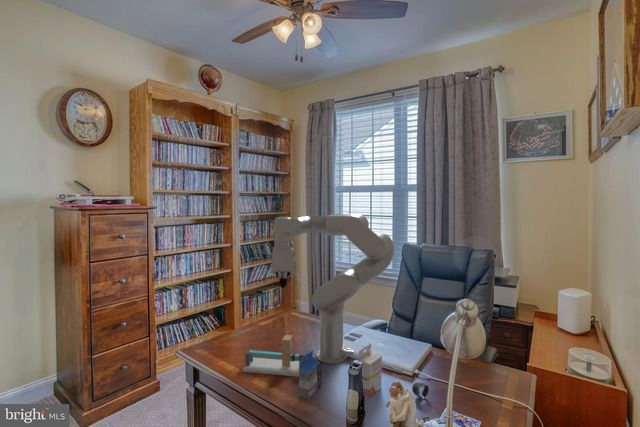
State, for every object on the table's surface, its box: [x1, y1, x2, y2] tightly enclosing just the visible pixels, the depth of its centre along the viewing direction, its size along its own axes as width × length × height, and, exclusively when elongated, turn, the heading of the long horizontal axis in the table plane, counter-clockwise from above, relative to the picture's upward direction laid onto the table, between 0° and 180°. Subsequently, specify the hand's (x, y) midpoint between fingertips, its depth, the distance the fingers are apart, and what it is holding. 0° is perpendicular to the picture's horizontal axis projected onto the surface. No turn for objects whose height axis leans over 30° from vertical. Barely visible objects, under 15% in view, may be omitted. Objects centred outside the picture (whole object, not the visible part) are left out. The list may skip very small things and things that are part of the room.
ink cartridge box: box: [357, 343, 383, 398], centre depth 113 cm, size 9×5×15 cm, turn 141°
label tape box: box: [298, 350, 322, 400], centre depth 112 cm, size 9×4×12 cm, turn 151°
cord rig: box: [242, 349, 309, 377], centre depth 127 cm, size 24×9×7 cm, turn 81°
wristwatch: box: [412, 382, 430, 399], centre depth 108 cm, size 3×5×5 cm, turn 103°
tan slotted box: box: [281, 334, 294, 367], centre depth 126 cm, size 3×4×10 cm
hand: (283, 286), depth 143 cm, fingers closed
